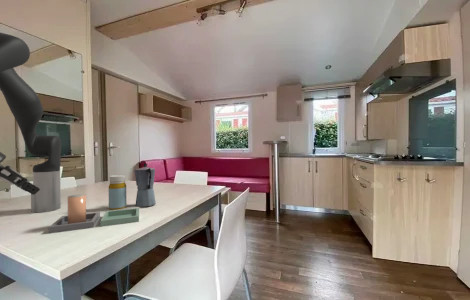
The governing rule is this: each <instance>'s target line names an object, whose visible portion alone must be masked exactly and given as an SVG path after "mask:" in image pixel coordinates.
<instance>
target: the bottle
mask: <svg viewBox="0 0 470 300" xmlns="http://www.w3.org/2000/svg"><path fill="white" fill-rule="evenodd" d="M126 208H127V184H126V175H125V174H117V175H116V174H114V175H109V186H108V209H109V211H114V210H124V209H126Z"/></svg>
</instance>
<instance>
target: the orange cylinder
mask: <svg viewBox="0 0 470 300" xmlns="http://www.w3.org/2000/svg"><path fill="white" fill-rule="evenodd" d="M86 213H87V196H86V194H84V193H83V194H81V193H80V194H72V195H68V196H67V216H68V224H72V223H81V222H86Z"/></svg>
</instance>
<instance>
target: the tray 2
mask: <svg viewBox="0 0 470 300" xmlns="http://www.w3.org/2000/svg"><path fill="white" fill-rule="evenodd" d="M131 223H140V207H134V208H127V209H126V208H123V209H118V210H108V211H105V212H104V214H103V216H102V218H101V220H100V227H108V226H116V225H123V224H131Z"/></svg>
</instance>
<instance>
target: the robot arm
mask: <svg viewBox="0 0 470 300" xmlns="http://www.w3.org/2000/svg"><path fill="white" fill-rule="evenodd" d="M30 56H31V51H30V47H29V46H28V44H27V43H26V42H25V41H24V40H23V39H21V38H20V37H17V36H15V35H12V34H7V33H4V32H0V91H1V94H2V95H3V97H4V100H5V101H6V104H7V105H8V108H9V110H10V113H11V114H12V115H13V117H14V119H15V122H16V123H17V125H18V127H19V130H20V132H21V135H22V138H23V141H24V143H25V146H26V147H25V148H26V150H27V151H28V153H29V154H30V155H31V156H32V157H48V159H46V160H45V161H44V162H41V163H39V164H37V163H36V164H35V165H33V166H32V183H31V182H30V181H29V180H28V178H26V177H24V176H23V175H22V173H20V172H19V171H16V170H15V169H14V168H13V167H11V166H10V165H5V166H4V165H2V164H1V163H2V162H4V160H6V159H7V156H6V155H5V154H4V153H3V152H1V151H0V181H2V182H5V183H6V184H9V185H10V186H16V187H17V188H19V189H21V190H22V191H24V192H27V193H29V194H30V208H31V209H30V212H31V213H44V212H52V211H56V210H60V208H61V207H62V205H61V203H62V201H61V200H62V199H61V197H62V196H61V162H62V161H61V157H62V141H61V138H60V137H59V136H57V135H38V134H37V131H36V128H37V126H38V123H40V121H41V120H42V117H43V114H44V108H43V105H42V103H41V100H40V97H39V96H38V94H37V93H36V91H35V90H34V89H33V88H32V87H31V86H30V85H29V84H28V83H27V82H26V81H25V80H24V79H23V78H22V77H21V76H20V75H19V74H18V73H17V71H16V70H15V68H17V67H21V66H22V65H25V64H26V63H27V62H28V61H29V59H30Z"/></svg>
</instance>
